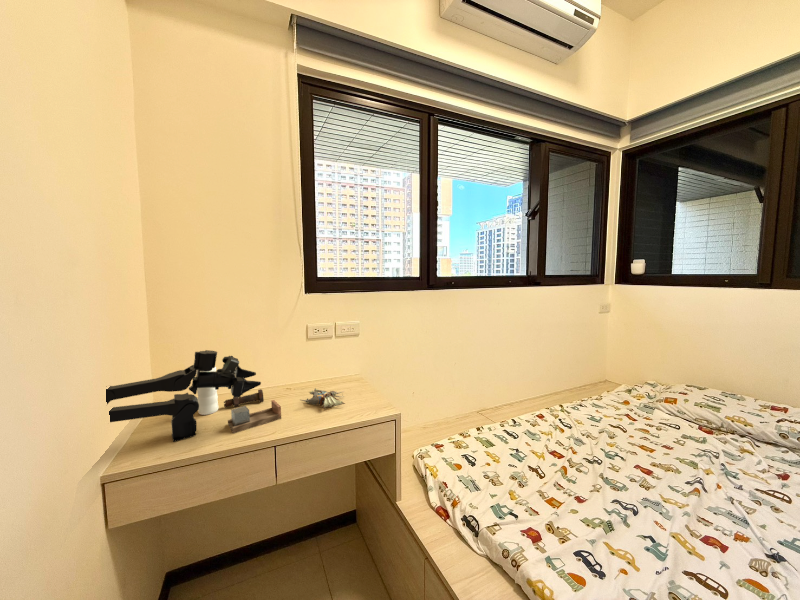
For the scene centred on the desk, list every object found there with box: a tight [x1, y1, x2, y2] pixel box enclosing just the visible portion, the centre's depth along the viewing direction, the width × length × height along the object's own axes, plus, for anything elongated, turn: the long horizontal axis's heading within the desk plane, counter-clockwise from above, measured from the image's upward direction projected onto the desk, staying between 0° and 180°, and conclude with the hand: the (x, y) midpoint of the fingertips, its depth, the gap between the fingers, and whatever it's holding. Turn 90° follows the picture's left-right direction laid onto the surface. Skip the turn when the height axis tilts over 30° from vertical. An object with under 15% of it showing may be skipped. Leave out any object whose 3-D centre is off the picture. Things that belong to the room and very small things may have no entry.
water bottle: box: [196, 366, 219, 416], centre depth 125 cm, size 7×7×25 cm
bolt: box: [223, 388, 265, 408], centre depth 133 cm, size 6×5×15 cm
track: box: [227, 399, 282, 434], centre depth 117 cm, size 17×8×5 cm, turn 131°
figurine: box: [300, 387, 346, 409], centre depth 132 cm, size 20×6×17 cm
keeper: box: [230, 405, 251, 426], centre depth 114 cm, size 5×5×5 cm
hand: (258, 378), depth 121 cm, fingers open, 9 cm apart
